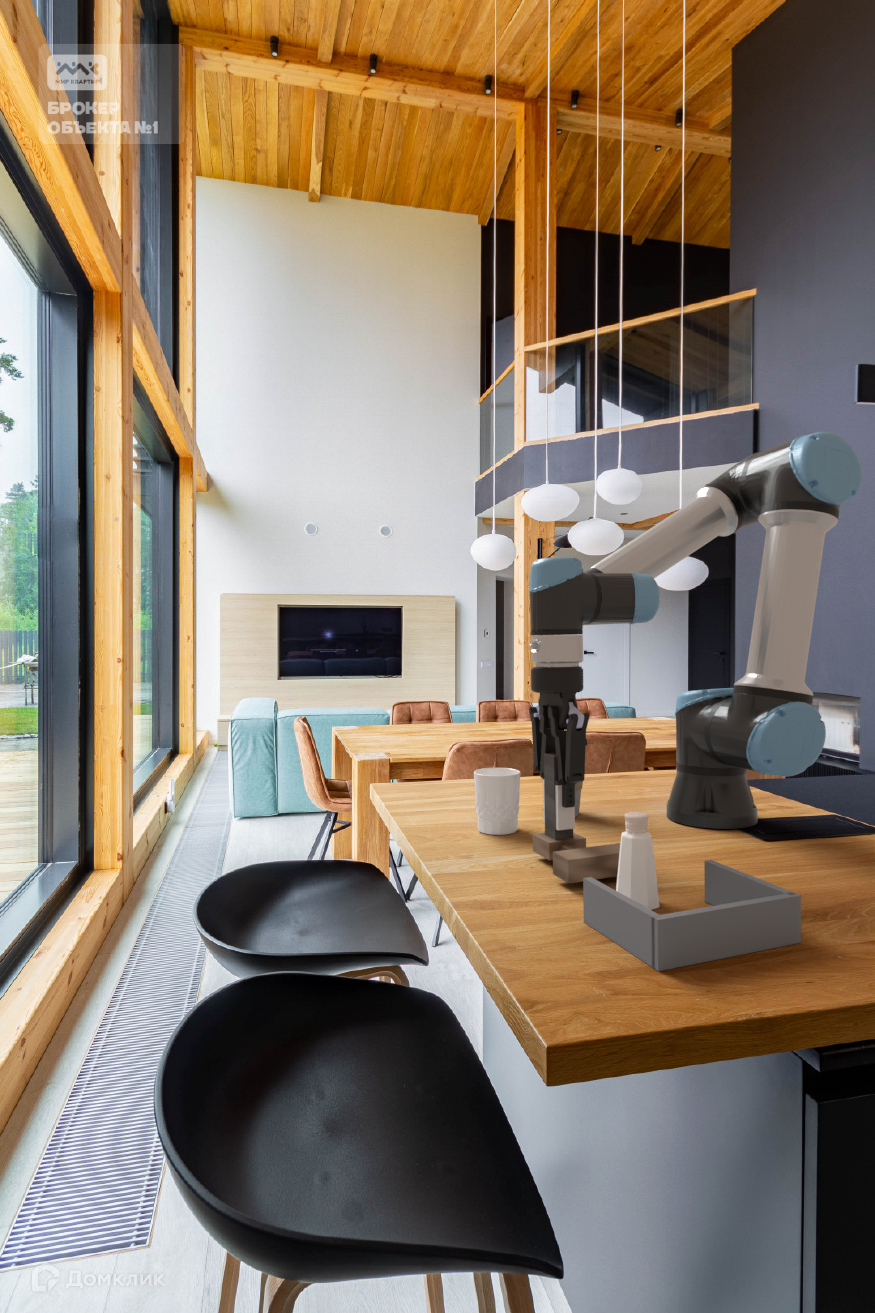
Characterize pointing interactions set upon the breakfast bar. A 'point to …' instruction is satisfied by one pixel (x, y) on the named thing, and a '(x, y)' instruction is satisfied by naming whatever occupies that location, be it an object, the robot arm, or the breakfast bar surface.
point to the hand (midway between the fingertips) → (558, 825)
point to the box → (698, 920)
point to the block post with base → (570, 841)
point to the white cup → (497, 800)
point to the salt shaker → (637, 862)
